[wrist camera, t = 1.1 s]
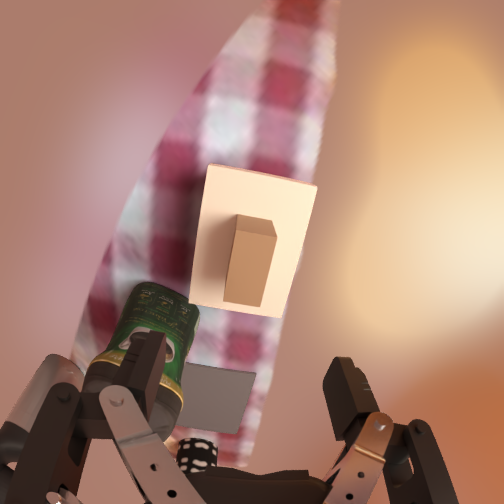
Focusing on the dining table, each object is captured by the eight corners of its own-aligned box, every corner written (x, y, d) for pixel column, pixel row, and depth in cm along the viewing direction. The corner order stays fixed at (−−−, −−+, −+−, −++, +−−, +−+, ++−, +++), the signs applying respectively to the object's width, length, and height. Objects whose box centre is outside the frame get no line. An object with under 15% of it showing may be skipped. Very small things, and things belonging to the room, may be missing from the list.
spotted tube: (171, 440, 49) (157, 520, 30) (204, 435, 48) (196, 523, 29) (192, 456, 52) (184, 531, 33) (224, 452, 51) (221, 531, 32)
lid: (279, 307, 31) (286, 346, 25) (191, 292, 30) (180, 330, 24) (312, 183, 26) (332, 197, 20) (211, 163, 25) (199, 170, 19)
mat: (236, 432, 47) (236, 434, 47) (158, 419, 46) (158, 421, 45) (256, 372, 41) (256, 374, 40) (156, 356, 39) (156, 357, 39)
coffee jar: (124, 315, 37) (69, 419, 19) (140, 270, 34) (71, 376, 17) (187, 345, 38) (161, 459, 21) (209, 304, 36) (187, 428, 19)
